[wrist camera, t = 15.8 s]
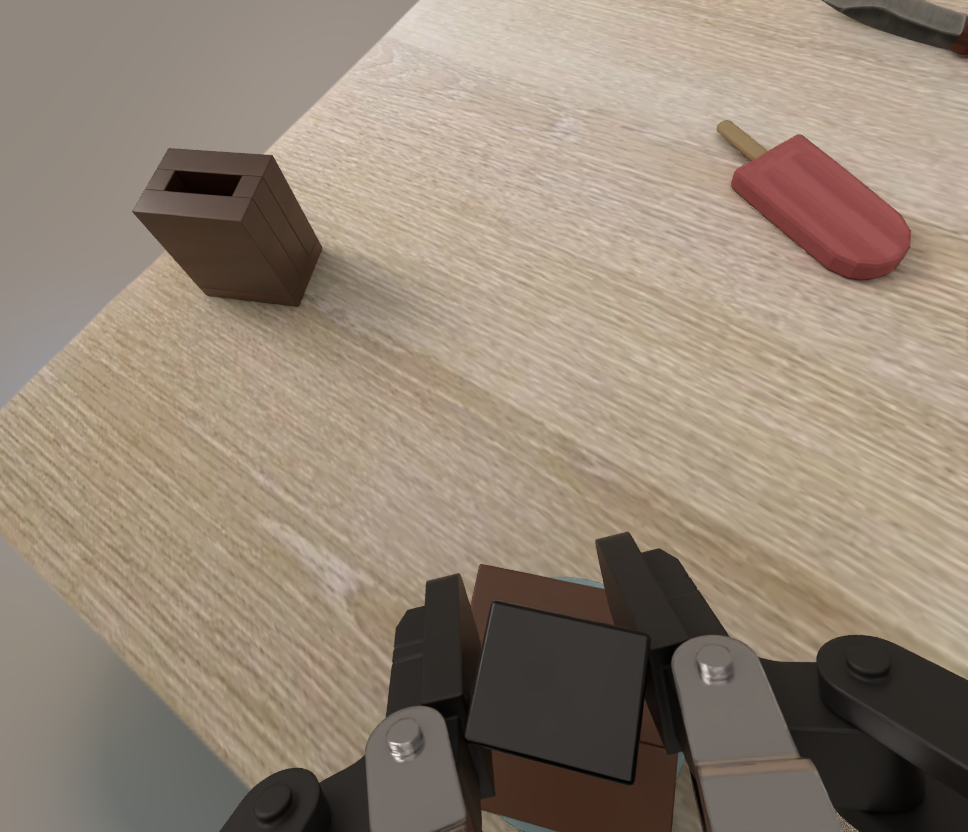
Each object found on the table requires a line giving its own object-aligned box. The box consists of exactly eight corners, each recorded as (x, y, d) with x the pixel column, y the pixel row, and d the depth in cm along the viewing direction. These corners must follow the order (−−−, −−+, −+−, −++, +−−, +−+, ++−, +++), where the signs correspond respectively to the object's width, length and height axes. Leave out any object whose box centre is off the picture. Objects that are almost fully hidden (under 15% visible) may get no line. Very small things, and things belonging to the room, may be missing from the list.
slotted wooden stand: (674, 873, 26) (715, 937, 19) (424, 800, 28) (373, 833, 21) (696, 605, 30) (736, 573, 23) (478, 561, 32) (451, 519, 25)
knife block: (298, 306, 41) (240, 221, 34) (205, 295, 42) (131, 211, 35) (322, 247, 43) (273, 154, 36) (233, 238, 44) (168, 147, 37)
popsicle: (755, 95, 42) (936, 235, 35) (749, 115, 43) (922, 253, 37) (690, 131, 41) (863, 280, 35) (686, 150, 42) (851, 297, 36)
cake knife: (601, 739, 22) (659, 796, 8) (520, 718, 23) (439, 737, 9) (608, 680, 23) (673, 636, 9) (530, 662, 24) (472, 593, 9)
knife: (805, 15, 47) (820, -27, 44) (815, 4, 47) (830, -39, 44) (1079, 97, 40) (1115, 53, 37) (1087, 83, 41) (1124, 39, 38)
